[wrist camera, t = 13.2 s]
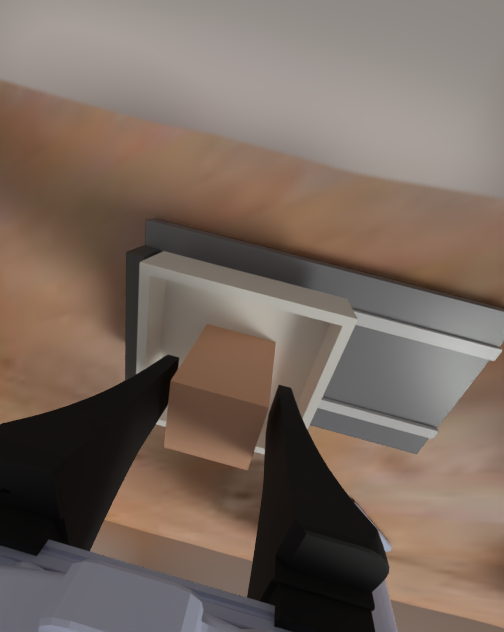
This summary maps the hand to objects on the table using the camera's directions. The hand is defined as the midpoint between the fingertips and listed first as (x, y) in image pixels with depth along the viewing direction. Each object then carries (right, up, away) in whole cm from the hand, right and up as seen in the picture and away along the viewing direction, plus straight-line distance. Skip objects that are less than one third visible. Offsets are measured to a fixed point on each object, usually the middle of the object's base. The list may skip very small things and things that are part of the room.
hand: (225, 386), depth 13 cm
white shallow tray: (+1, +2, +4) cm, 4 cm away
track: (+5, +2, +5) cm, 7 cm away
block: (0, +1, +2) cm, 3 cm away
